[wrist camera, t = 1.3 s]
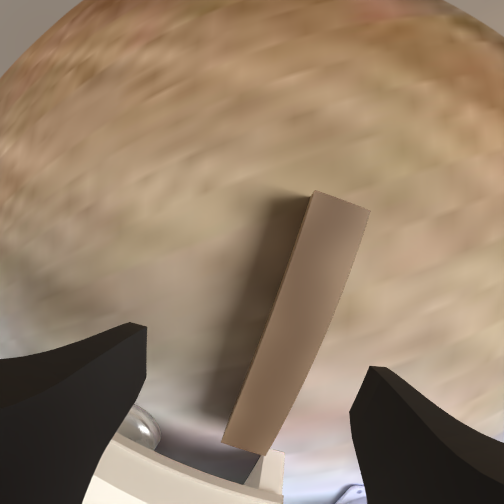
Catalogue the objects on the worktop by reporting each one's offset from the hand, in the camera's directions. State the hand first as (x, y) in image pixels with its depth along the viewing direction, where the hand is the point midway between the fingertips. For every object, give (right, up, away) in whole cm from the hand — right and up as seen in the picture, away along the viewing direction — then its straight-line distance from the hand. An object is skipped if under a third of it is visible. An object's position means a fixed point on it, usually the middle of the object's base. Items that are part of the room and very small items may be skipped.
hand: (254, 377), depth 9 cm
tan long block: (+2, -1, +10) cm, 10 cm away
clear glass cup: (-10, -11, +12) cm, 19 cm away
